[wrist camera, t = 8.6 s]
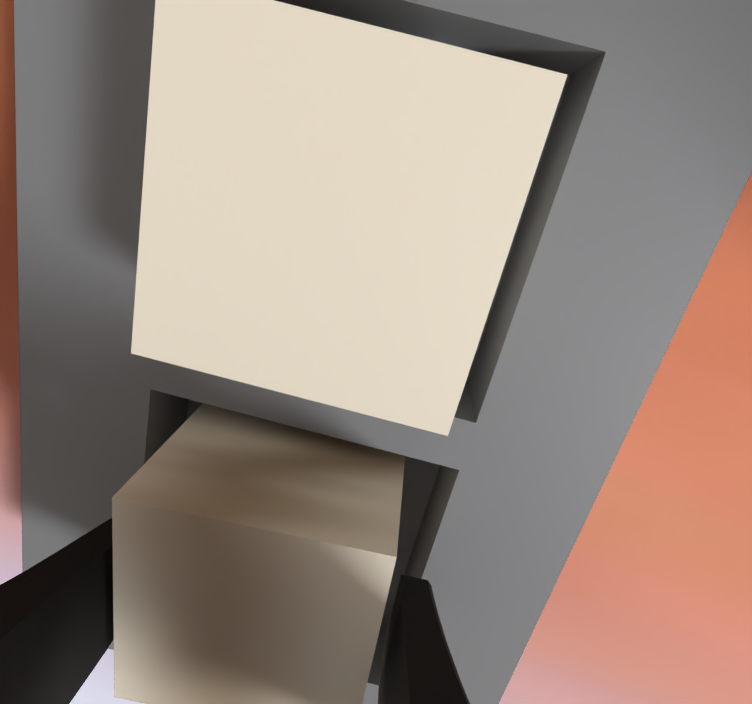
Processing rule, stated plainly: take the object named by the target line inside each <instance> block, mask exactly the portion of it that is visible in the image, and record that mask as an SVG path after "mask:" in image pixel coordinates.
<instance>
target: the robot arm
mask: <svg viewBox="0 0 752 704" xmlns="http://www.w3.org/2000/svg"><path fill="white" fill-rule="evenodd" d="M113 640H114V622H113V541H112V518H110V519H109V520H107V521H105V522H104V523H102V524H100V525H99V526H97V527H96V528H94V529H92V530H91V531H89V532H88V533H86V534H84V535H83V536H81V537H80V538H78V539H76V540H75V541H73V542H72V543H70V544H68V545H67V546H65V547H64V548H62V549H60V550H59V551H57V552H56V553H54V554H52V555H51V556H49V557H47V558H46V559H44V560H42V561H41V562H39V563H37V564H36V565H34V566H32V567H31V568H29V569H27V570H26V571H24V572H22V573H21V574H19V575H17V576H16V577H14V578H12V579H10V580H9V581H7V582H5V583H3V584H1V585H0V704H69V703H70V702H71V700H72V699H73V697H74V696H75V695H76V693H77V692H78V690H79V689H80V687H81V686H82V685H83V683H84V682H85V680H86V679H87V677H88V676H89V675H90V673H91V672H92V670H93V669H94V667H95V666H96V665H97V663H98V662H99V660H100V659H101V657H102V656H103V654H104V653H105V651H106V650H107V649H108V647H109V646H110V644H111V643H112V641H113ZM378 704H470V702H469V700H468V698H467V695H466V693H465V690H464V688H463V685H462V683H461V680H460V677H459V675H458V672H457V669H456V666H455V664H454V661H453V658H452V655H451V653H450V650H449V647H448V644H447V641H446V638H445V635H444V631H443V628H442V625H441V622H440V618H439V615H438V611H437V607H436V603H435V599H434V595H433V591H432V585H431V584H430V582H429V581H428V580H425V579H420V578H416V577H411V576H406V575H402V574H401V576H400V580H399V584H398V588H397V592H396V596H395V600H394V604H393V608H392V612H391V616H390V620H389V624H388V628H387V632H386V636H385V641H384V648H383V656H382V664H381V672H380V681H379V689H378Z"/></svg>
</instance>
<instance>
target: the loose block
mask: <svg viewBox="0 0 752 704" xmlns="http://www.w3.org/2000/svg"><path fill="white" fill-rule="evenodd" d="M404 463H405V456H404V455H400V454H396V453H392V452H388V451H385V450H381V449H377V448H373V447H369V446H365V445H362V444H358V443H354V442H350V441H346V440H343V439H339V438H335V437H331V436H327V435H323V434H320V433H316V432H312V431H308V430H304V429H300V428H297V427H293V426H289V425H285V424H281V423H278V422H274V421H270V420H266V419H262V418H258V417H255V416H251V415H247V414H243V413H239V412H235V411H232V410H228V409H224V408H220V407H216V406H213V405H209V404H205V403H203V404H202V405H201V406H200V407H199V408H198V409H197V410H196V411H195V412H194V413H193V414H192V415H191V416H190V417H189V418H188V419H187V420H186V421H185V422H184V423H183V424H182V426H181V427H180V428H179V429H178V430H177V431H176V432H175V433H174V434H173V435H172V436H171V437H170V438H169V439H168V440H167V441H166V442H165V443H164V444H163V445H162V446H161V447H160V448H159V449H158V450H157V451H156V452H155V453H154V454H153V456H152V457H151V458H150V459H149V460H148V461H147V462H146V463H145V464H144V465H143V466H142V467H141V468H140V469H139V470H138V471H137V472H136V473H135V474H134V475H133V476H132V477H131V478H130V479H129V480H128V481H127V482H126V483H125V484H124V486H123V487H122V488H121V489H120V490H119V491H118V492H117V493H116V494H115V495H114V496H113V497H112V541H113V622H114V697H117V698H122V699H126V700H131V701H135V702H140V703H144V704H362V703H363V699H364V695H365V690H366V686H367V682H368V678H369V673H370V669H371V665H372V660H373V656H374V652H375V648H376V643H377V639H378V635H379V631H380V626H381V622H382V618H383V614H384V609H385V605H386V601H387V597H388V592H389V588H390V584H391V580H392V575H393V571H394V567H395V563H396V558H397V548H398V536H399V524H400V512H401V500H402V488H403V475H404Z"/></svg>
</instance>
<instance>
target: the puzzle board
mask: <svg viewBox="0 0 752 704" xmlns="http://www.w3.org/2000/svg"><path fill="white" fill-rule="evenodd" d="M14 43H15V108H16V172H17V237H18V302H19V367H20V432H21V497H22V562H23V572H24V571H26V570H27V569H29V568H31V567H32V566H34V565H36V564H37V563H39V562H41V561H42V560H44V559H46V558H47V557H49V556H51V555H52V554H54V553H56V552H57V551H59V550H60V549H62V548H64V547H65V546H67V545H68V544H70V543H72V542H73V541H75V540H76V539H78V538H80V537H81V536H83V535H84V534H86V533H88V532H89V531H91V530H92V529H94V528H96V527H97V526H99V525H100V524H102V523H104V522H105V521H107V520H109V519H110V518H112V497H113V496H114V495H115V494H116V493H117V492H118V491H119V490H120V489H121V488H122V487H123V486H124V484H125V483H126V482H127V481H128V480H129V479H130V478H131V477H132V476H133V475H134V474H135V473H136V472H137V471H138V470H139V469H140V468H141V467H142V466H143V465H144V464H145V463H146V462H147V461H148V460H149V459H150V458H151V457H152V456H153V454H154V453H155V452H156V451H157V450H158V449H159V448H160V447H161V446H162V445H163V444H164V443H165V442H166V441H167V440H168V439H169V438H170V437H171V436H172V435H173V434H174V433H175V432H176V431H177V430H178V429H179V428H180V427H181V426H182V424H183V423H184V422H185V421H186V420H187V419H188V418H189V417H190V416H191V415H192V414H193V413H194V412H195V411H196V410H197V409H198V408H199V407H200V406H201V405H202V404H203V403H205V404H209V405H213V406H216V407H220V408H224V409H228V410H232V411H235V412H239V413H243V414H247V415H251V416H255V417H258V418H262V419H266V420H270V421H274V422H278V423H281V424H285V425H289V426H293V427H297V428H300V429H304V430H308V431H312V432H316V433H320V434H323V435H327V436H331V437H335V438H339V439H343V440H346V441H350V442H354V443H358V444H362V445H365V446H369V447H373V448H377V449H381V450H385V451H388V452H392V453H396V454H400V455H404V456H405V463H404V475H403V488H402V500H401V512H400V524H399V536H398V548H397V558H396V563H395V567H394V571H393V575H392V580H391V584H390V588H389V592H388V597H387V601H386V605H385V609H384V614H383V618H382V622H381V626H380V631H379V635H378V639H377V643H376V648H375V652H374V656H373V660H372V665H371V669H370V673H369V678H368V682H367V686H366V690H365V695H364V699H363V703H362V704H378V689H379V681H380V672H381V664H382V656H383V648H384V641H385V636H386V632H387V628H388V624H389V620H390V616H391V612H392V608H393V604H394V600H395V596H396V592H397V588H398V584H399V580H400V576H401V574H402V575H406V576H411V577H416V578H420V579H425V580H428V581H429V582H430V584H431V585H432V591H433V595H434V599H435V603H436V607H437V611H438V615H439V618H440V622H441V625H442V628H443V631H444V635H445V638H446V641H447V644H448V647H449V650H450V653H451V655H452V658H453V661H454V664H455V666H456V669H457V672H458V675H459V677H460V680H461V683H462V685H463V688H464V690H465V693H466V695H467V698H468V700H469V702H470V704H499V701H500V699H501V697H502V695H503V693H504V691H505V689H506V687H507V685H508V683H509V680H510V678H511V676H512V674H513V672H514V670H515V668H516V666H517V664H518V662H519V659H520V657H521V655H522V653H523V651H524V649H525V647H526V645H527V643H528V641H529V638H530V636H531V634H532V632H533V630H534V628H535V626H536V624H537V622H538V620H539V617H540V615H541V613H542V611H543V609H544V607H545V605H546V603H547V601H548V599H549V596H550V594H551V592H552V590H553V588H554V586H555V584H556V582H557V580H558V578H559V575H560V573H561V571H562V569H563V567H564V565H565V563H566V561H567V559H568V557H569V554H570V552H571V550H572V548H573V546H574V544H575V542H576V540H577V538H578V535H579V533H580V531H581V529H582V527H583V525H584V523H585V521H586V519H587V517H588V514H589V512H590V510H591V508H592V506H593V504H594V502H595V500H596V498H597V496H598V493H599V491H600V489H601V487H602V485H603V483H604V481H605V479H606V477H607V475H608V472H609V470H610V468H611V466H612V464H613V462H614V460H615V458H616V456H617V454H618V451H619V449H620V447H621V445H622V443H623V441H624V439H625V437H626V435H627V433H628V430H629V428H630V426H631V424H632V422H633V420H634V418H635V416H636V414H637V412H638V409H639V407H640V405H641V403H642V401H643V399H644V397H645V395H646V393H647V391H648V388H649V386H650V384H651V382H652V380H653V378H654V376H655V374H656V372H657V370H658V367H659V365H660V363H661V361H662V359H663V357H664V355H665V353H666V351H667V348H668V346H669V344H670V342H671V340H672V338H673V336H674V334H675V332H676V330H677V327H678V325H679V323H680V321H681V319H682V317H683V315H684V313H685V311H686V309H687V306H688V304H689V302H690V300H691V298H692V296H693V294H694V292H695V290H696V288H697V285H698V283H699V281H700V279H701V277H702V275H703V273H704V271H705V269H706V267H707V264H708V262H709V260H710V258H711V256H712V254H713V252H714V250H715V248H716V246H717V243H718V241H719V239H720V237H721V235H722V233H723V231H724V229H725V227H726V225H727V222H728V220H729V218H730V216H731V214H732V212H733V210H734V208H735V206H736V204H737V201H738V199H739V197H740V195H741V193H742V191H743V189H744V187H745V185H746V183H747V180H748V178H749V176H750V174H751V172H752V0H14ZM108 648H109V649H113V650H114V640H113V641H112V643H111V644H110V646H109V647H108Z"/></svg>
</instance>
